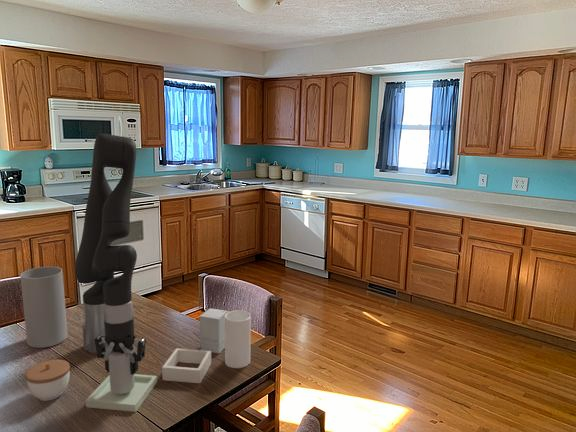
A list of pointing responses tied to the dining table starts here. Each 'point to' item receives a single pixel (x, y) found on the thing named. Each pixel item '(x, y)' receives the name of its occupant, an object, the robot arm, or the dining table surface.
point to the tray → (126, 401)
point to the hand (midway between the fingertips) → (122, 371)
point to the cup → (237, 338)
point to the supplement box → (212, 330)
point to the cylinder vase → (44, 306)
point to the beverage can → (120, 373)
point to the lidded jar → (48, 379)
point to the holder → (183, 372)
